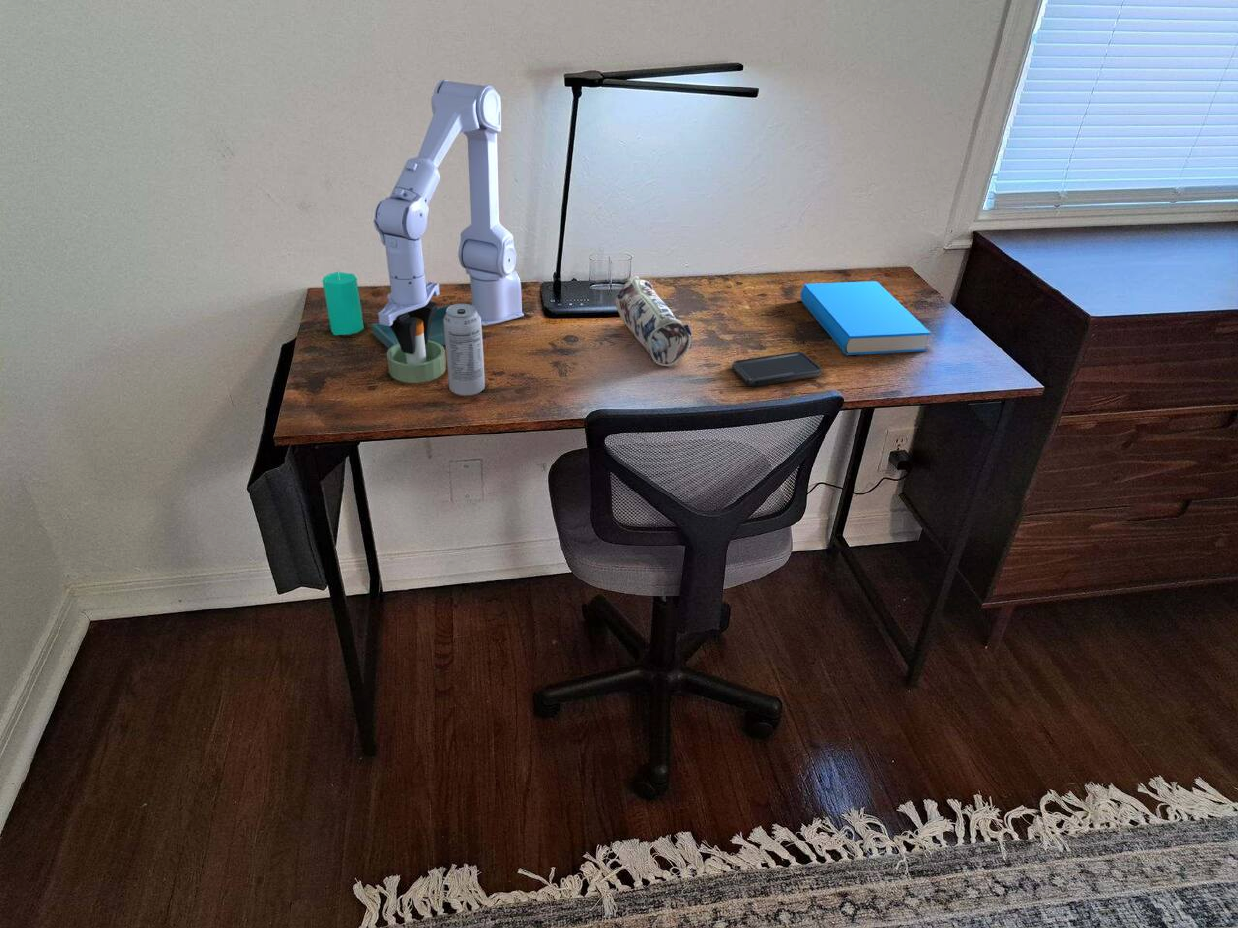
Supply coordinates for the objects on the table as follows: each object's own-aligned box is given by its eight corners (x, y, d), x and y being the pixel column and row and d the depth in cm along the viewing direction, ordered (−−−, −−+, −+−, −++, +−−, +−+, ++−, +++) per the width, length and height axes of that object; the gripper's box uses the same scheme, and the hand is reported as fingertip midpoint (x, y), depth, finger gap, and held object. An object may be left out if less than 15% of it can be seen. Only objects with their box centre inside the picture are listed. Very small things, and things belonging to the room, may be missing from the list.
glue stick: (422, 362, 150) (417, 315, 145) (431, 370, 148) (426, 323, 142) (403, 367, 148) (397, 320, 143) (412, 375, 146) (406, 328, 141)
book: (876, 280, 180) (932, 330, 160) (872, 299, 182) (927, 351, 162) (800, 283, 177) (848, 335, 157) (797, 302, 179) (844, 355, 159)
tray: (449, 316, 167) (448, 305, 165) (476, 337, 160) (475, 325, 158) (373, 336, 158) (371, 324, 157) (398, 359, 151) (396, 346, 150)
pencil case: (691, 365, 154) (696, 316, 148) (648, 370, 151) (651, 321, 146) (651, 315, 170) (654, 270, 165) (611, 319, 168) (613, 273, 163)
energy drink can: (485, 381, 146) (480, 301, 137) (485, 399, 141) (480, 317, 132) (450, 382, 145) (443, 302, 137) (448, 400, 140) (441, 318, 132)
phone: (730, 361, 153) (802, 350, 157) (729, 367, 153) (801, 356, 158) (750, 382, 147) (824, 370, 151) (749, 387, 147) (823, 375, 152)
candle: (355, 338, 157) (345, 278, 150) (325, 334, 158) (314, 274, 151) (369, 325, 162) (360, 266, 155) (340, 321, 163) (330, 262, 156)
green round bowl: (430, 353, 154) (428, 334, 152) (455, 375, 147) (454, 356, 145) (380, 367, 149) (377, 348, 147) (403, 390, 142) (401, 371, 140)
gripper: (412, 254, 144) (419, 326, 152) (358, 283, 133) (370, 359, 141) (447, 261, 142) (453, 334, 150) (395, 292, 131) (405, 369, 139)
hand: (415, 347), depth 145 cm, fingers closed on glue stick, 3 cm apart
